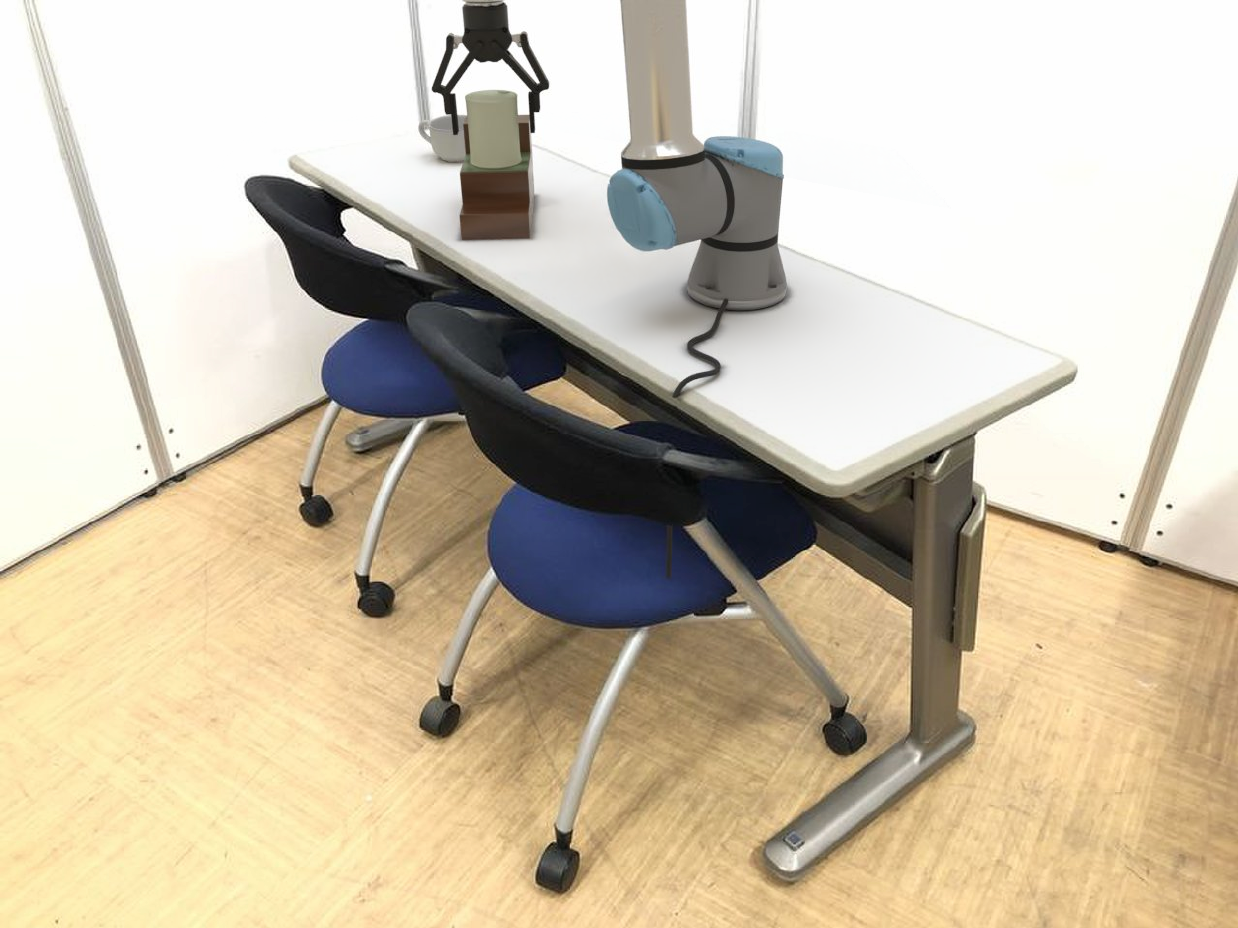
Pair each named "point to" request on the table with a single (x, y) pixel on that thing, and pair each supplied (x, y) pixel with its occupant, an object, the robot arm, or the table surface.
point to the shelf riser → (498, 194)
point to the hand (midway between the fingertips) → (494, 132)
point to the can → (493, 129)
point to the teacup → (445, 137)
